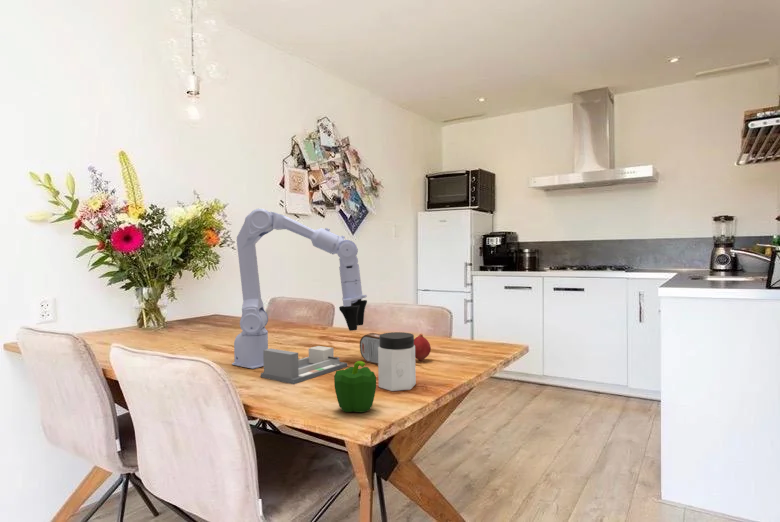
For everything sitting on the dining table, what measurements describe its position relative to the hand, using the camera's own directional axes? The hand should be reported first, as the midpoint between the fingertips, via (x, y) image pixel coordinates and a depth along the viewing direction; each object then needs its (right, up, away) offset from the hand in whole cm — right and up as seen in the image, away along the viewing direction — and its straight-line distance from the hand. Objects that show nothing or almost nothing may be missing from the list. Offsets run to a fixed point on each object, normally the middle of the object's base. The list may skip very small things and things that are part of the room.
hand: (356, 327), depth 134 cm
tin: (+7, -10, -4) cm, 13 cm away
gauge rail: (-13, -10, -11) cm, 20 cm away
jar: (+12, -10, -26) cm, 30 cm away
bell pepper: (+3, -11, -42) cm, 43 cm away
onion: (+19, -10, -1) cm, 21 cm away
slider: (-8, -9, -7) cm, 14 cm away
